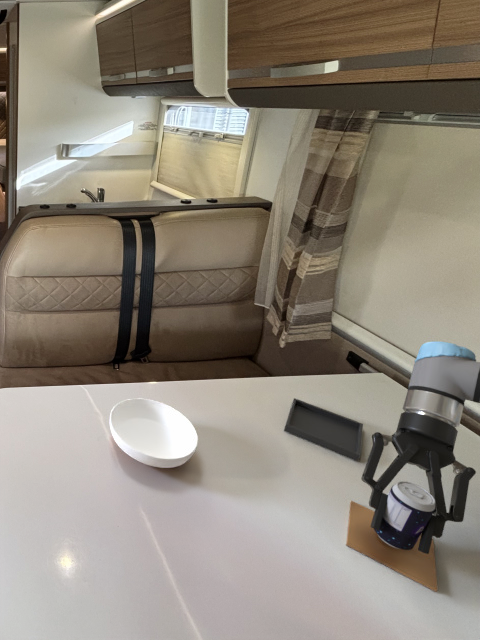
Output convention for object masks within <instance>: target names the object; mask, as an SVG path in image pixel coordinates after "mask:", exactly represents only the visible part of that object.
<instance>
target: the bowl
mask: <svg viewBox="0 0 480 640" xmlns="http://www.w3.org/2000/svg"><path fill="white" fill-rule="evenodd" d="M109 428H110V433H111V435H112V438H113V440H114V442H115V443H116V444H117V446H118V447H119V449H121V451H122V452H124V453H125V454H127V456H129V457H130V458H132V459H134V460H135V461H138V462H139V463H141V464H144V465H146V466H150V467H153V468H161V469H171V468H177V467H180V466H182V465H184V464H185V463H186V462H188V461H189V460H190V459H191V458H192V457H193V455H194V454H195V451H196V450H197V448H198V444H199V436H198V433H197V430H196V428H195V426H194V425H193V423H192V421H190V420H189V419H188V417H186V416H185V415H184V414H182V413H181V412H180V411H179V410H177V409H176V408H174V407H173V406H170V405H168V404H166V403H164V402H161V401H157V400H155V399H149V398H142V397H138V398H133V397H132V398H128V399H125V400H121V401H120V402H118V403H117V404H115V405H114V406H113V407H112V408H111V411H110V413H109Z"/></svg>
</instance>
